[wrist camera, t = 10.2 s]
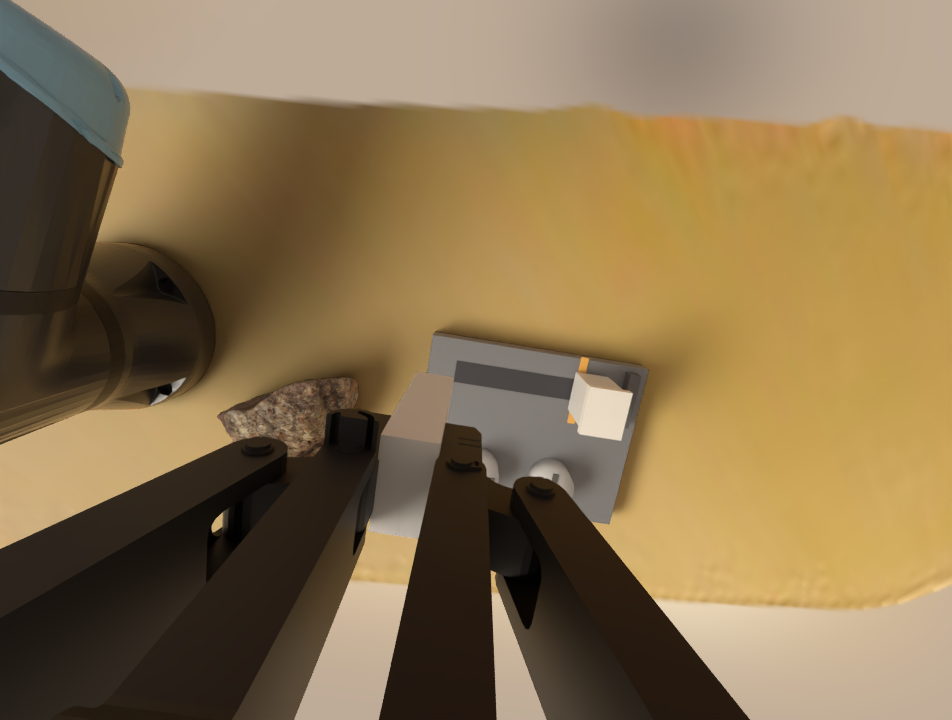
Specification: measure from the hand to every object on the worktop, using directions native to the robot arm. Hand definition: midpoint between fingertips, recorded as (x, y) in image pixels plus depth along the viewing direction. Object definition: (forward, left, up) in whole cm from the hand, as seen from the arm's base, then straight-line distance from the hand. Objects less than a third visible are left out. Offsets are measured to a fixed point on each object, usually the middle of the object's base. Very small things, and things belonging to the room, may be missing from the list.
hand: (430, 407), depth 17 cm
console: (+8, -9, -24) cm, 27 cm away
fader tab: (+13, -4, -22) cm, 26 cm away
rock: (-14, -12, -25) cm, 31 cm away
